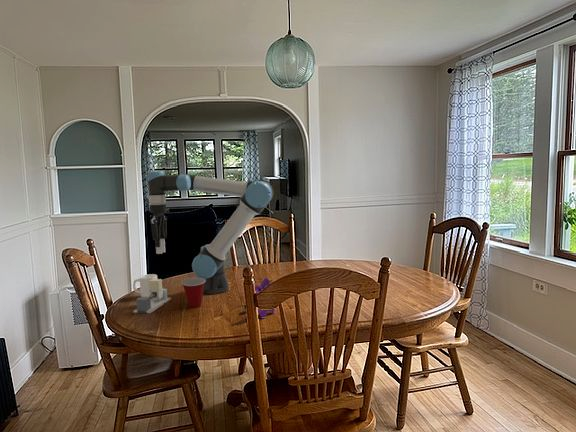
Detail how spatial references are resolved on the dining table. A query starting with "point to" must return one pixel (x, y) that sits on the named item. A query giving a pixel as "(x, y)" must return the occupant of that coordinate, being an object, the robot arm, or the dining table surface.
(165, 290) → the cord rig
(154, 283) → the sleeve
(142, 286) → the cup
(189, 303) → the plastic cup
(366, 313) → the dining table surface
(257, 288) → the flower
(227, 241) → the robot arm
